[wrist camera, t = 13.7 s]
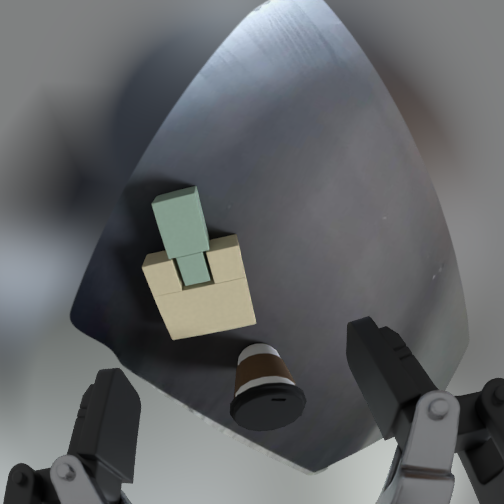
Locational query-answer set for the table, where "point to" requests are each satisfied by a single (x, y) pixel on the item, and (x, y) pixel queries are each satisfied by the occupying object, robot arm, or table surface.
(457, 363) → the table surface
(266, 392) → the coffee cup
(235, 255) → the notch pad
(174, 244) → the pad
